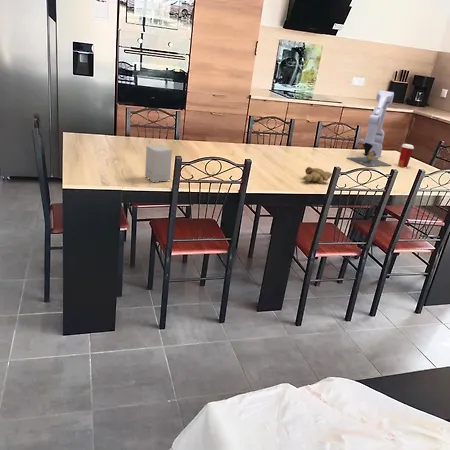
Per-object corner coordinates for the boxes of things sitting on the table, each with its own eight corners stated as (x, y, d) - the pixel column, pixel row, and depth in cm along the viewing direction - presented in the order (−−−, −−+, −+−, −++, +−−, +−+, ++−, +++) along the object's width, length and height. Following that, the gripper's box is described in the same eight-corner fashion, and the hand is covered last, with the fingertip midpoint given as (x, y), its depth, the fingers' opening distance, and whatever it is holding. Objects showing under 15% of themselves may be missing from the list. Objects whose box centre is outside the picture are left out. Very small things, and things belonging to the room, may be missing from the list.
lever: (369, 154, 299) (370, 147, 298) (376, 155, 298) (377, 148, 296) (365, 159, 284) (367, 152, 282) (372, 160, 283) (374, 153, 281)
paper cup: (408, 166, 293) (414, 145, 287) (408, 168, 286) (414, 147, 281) (396, 163, 295) (401, 142, 289) (396, 166, 288) (402, 145, 283)
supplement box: (170, 181, 207) (172, 150, 201) (152, 183, 202) (154, 150, 196) (162, 175, 214) (163, 144, 208) (144, 177, 209) (146, 145, 203)
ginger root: (326, 174, 244) (329, 161, 240) (331, 190, 232) (335, 177, 227) (297, 172, 244) (300, 159, 239) (301, 188, 231) (304, 175, 226)
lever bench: (370, 157, 302) (371, 154, 301) (391, 166, 287) (392, 162, 286) (346, 158, 293) (347, 154, 292) (367, 166, 278) (368, 162, 276)
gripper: (357, 131, 282) (352, 152, 288) (376, 137, 272) (371, 159, 278) (364, 131, 287) (359, 152, 292) (383, 136, 276) (378, 158, 282)
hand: (365, 155), depth 285 cm, fingers closed
